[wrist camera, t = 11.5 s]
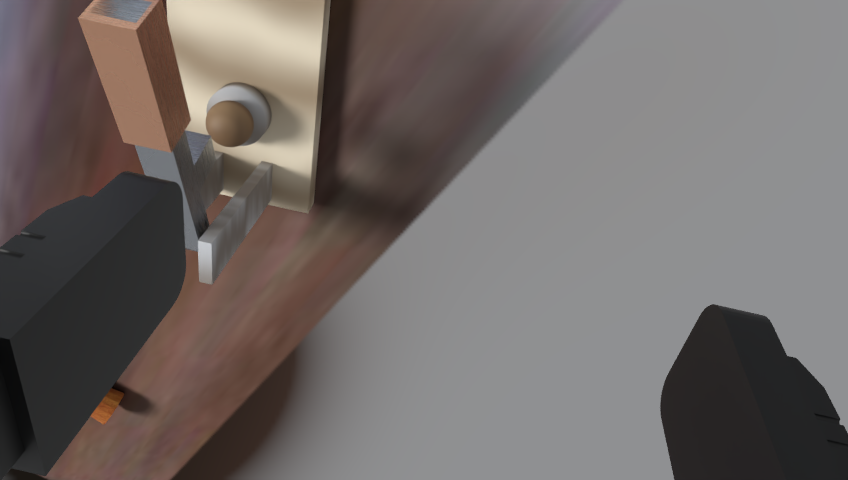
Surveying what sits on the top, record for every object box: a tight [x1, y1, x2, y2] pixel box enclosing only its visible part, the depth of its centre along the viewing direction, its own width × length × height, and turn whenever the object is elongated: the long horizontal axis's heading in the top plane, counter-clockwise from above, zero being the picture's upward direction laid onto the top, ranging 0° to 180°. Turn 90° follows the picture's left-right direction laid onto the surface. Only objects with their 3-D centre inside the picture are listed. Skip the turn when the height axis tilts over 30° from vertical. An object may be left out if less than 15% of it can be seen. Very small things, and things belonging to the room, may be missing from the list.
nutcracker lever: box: [78, 0, 216, 252], centre depth 34 cm, size 17×3×4 cm, turn 170°
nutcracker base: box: [167, 0, 331, 284], centre depth 38 cm, size 20×10×12 cm, turn 170°
